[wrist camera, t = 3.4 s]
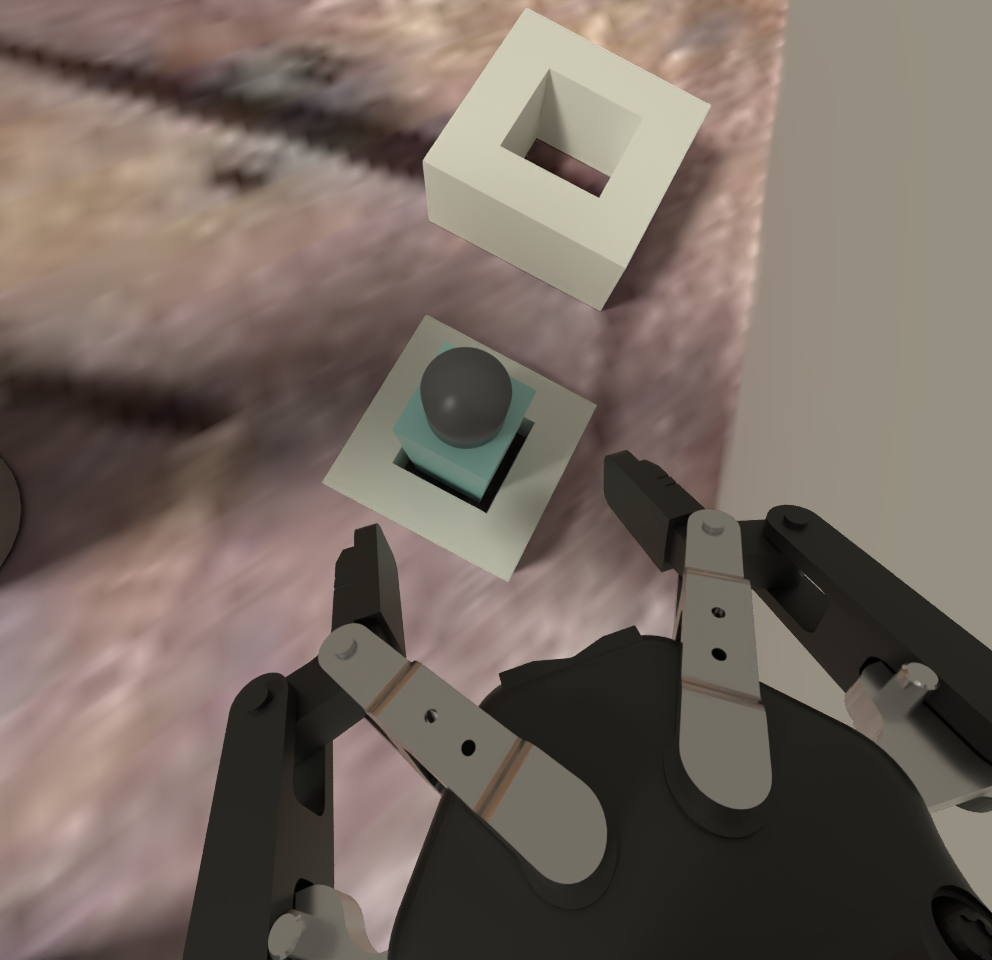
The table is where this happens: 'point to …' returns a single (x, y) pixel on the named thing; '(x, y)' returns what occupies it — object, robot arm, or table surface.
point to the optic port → (573, 130)
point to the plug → (463, 419)
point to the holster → (434, 512)
